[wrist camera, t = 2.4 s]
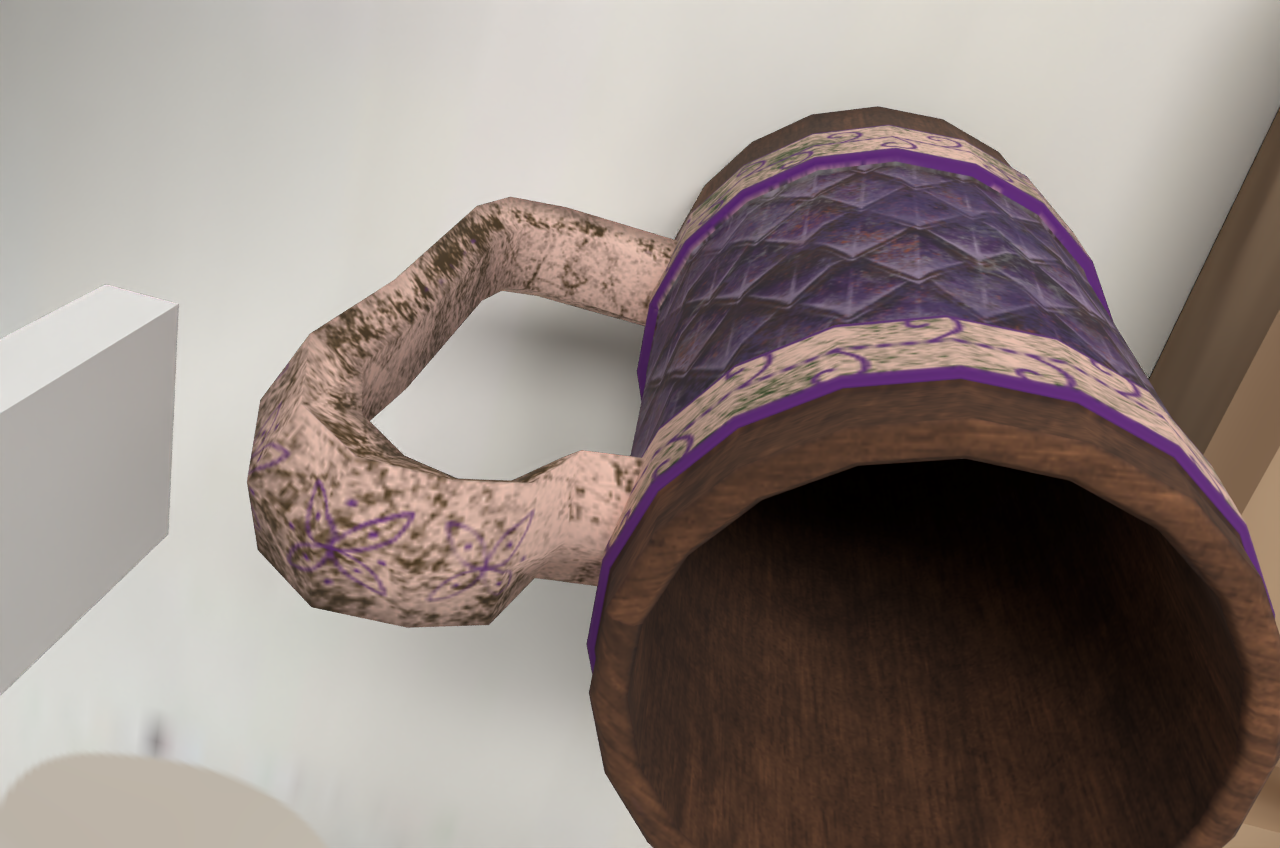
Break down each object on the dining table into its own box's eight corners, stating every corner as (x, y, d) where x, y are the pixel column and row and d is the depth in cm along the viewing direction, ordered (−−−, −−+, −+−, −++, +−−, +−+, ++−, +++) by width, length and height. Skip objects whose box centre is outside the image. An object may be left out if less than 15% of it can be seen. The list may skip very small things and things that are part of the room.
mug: (1143, 196, 19) (1613, 602, 8) (941, 525, 22) (1081, 1137, 11) (580, -45, 18) (262, 35, 7) (457, 326, 21) (107, 764, 11)
